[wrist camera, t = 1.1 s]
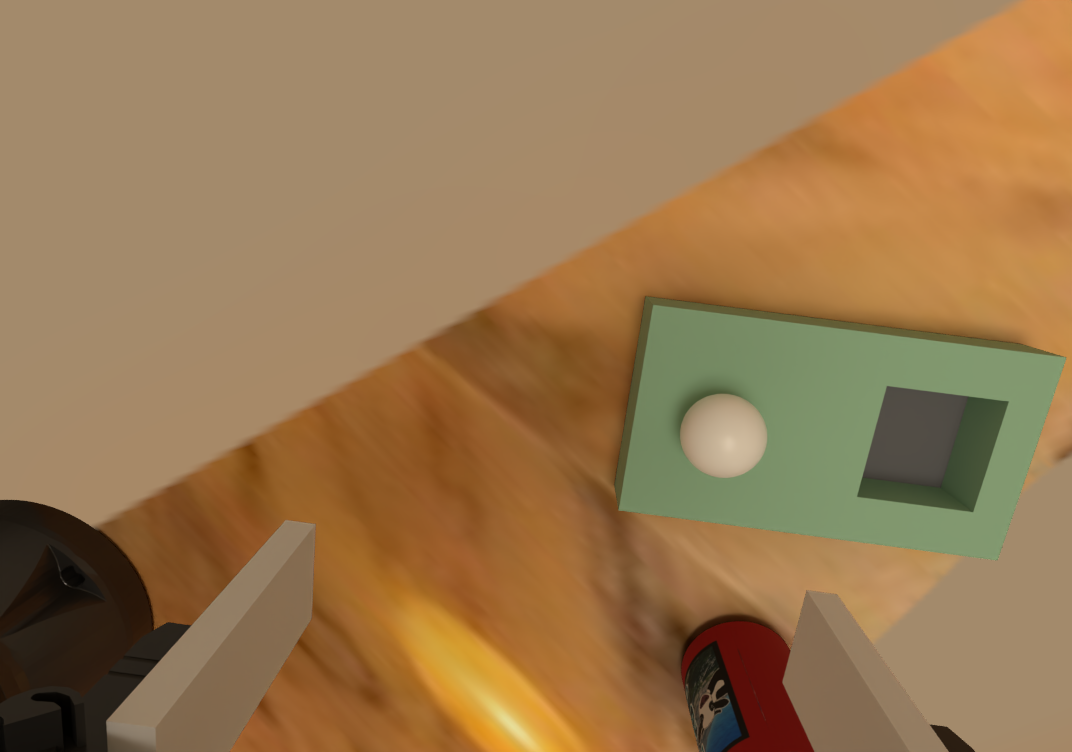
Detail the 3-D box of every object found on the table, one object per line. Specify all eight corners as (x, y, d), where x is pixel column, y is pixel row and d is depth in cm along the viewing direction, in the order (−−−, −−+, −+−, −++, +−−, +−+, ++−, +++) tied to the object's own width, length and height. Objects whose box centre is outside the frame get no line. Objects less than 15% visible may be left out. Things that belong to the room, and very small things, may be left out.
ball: (667, 453, 33) (680, 486, 29) (681, 379, 32) (696, 402, 28) (744, 463, 33) (768, 497, 29) (761, 389, 32) (787, 414, 28)
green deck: (614, 485, 37) (618, 510, 34) (645, 296, 34) (653, 304, 31) (961, 530, 37) (997, 560, 34) (1021, 344, 34) (1066, 357, 31)
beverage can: (665, 628, 39) (705, 803, 28) (774, 599, 39) (863, 767, 27) (695, 717, 41) (745, 917, 29) (801, 691, 40) (895, 887, 29)
